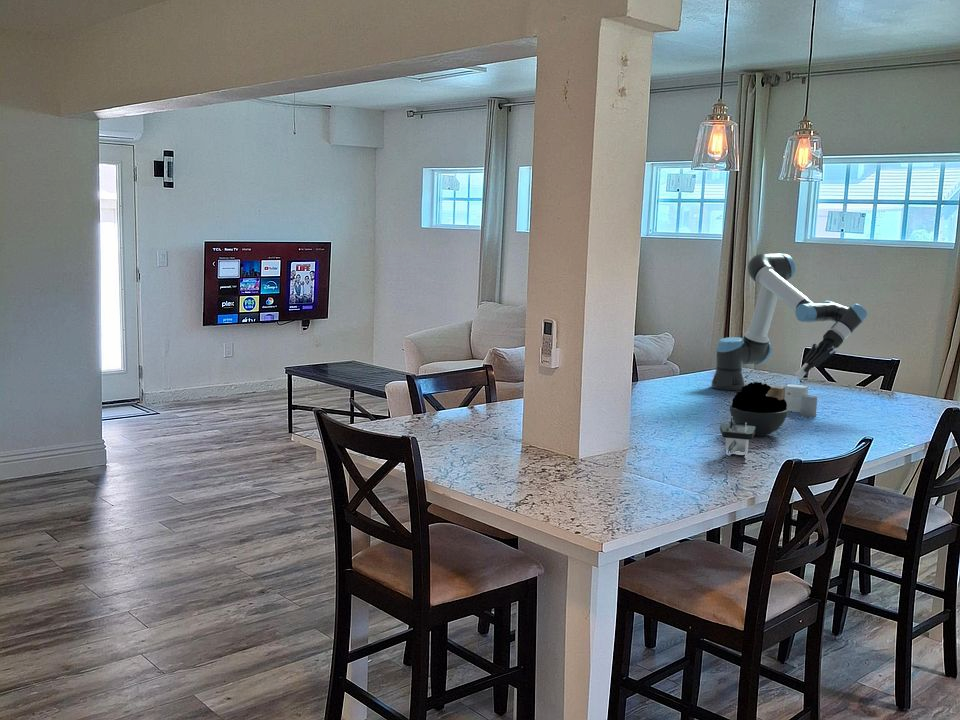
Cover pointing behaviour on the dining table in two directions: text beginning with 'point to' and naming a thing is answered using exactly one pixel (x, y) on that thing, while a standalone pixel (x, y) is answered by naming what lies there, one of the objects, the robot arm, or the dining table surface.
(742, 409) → the bowl of black rocks
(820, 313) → the robot arm
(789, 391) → the small box
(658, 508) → the dining table surface
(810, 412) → the white rectangular block
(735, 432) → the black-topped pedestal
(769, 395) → the walnut block
